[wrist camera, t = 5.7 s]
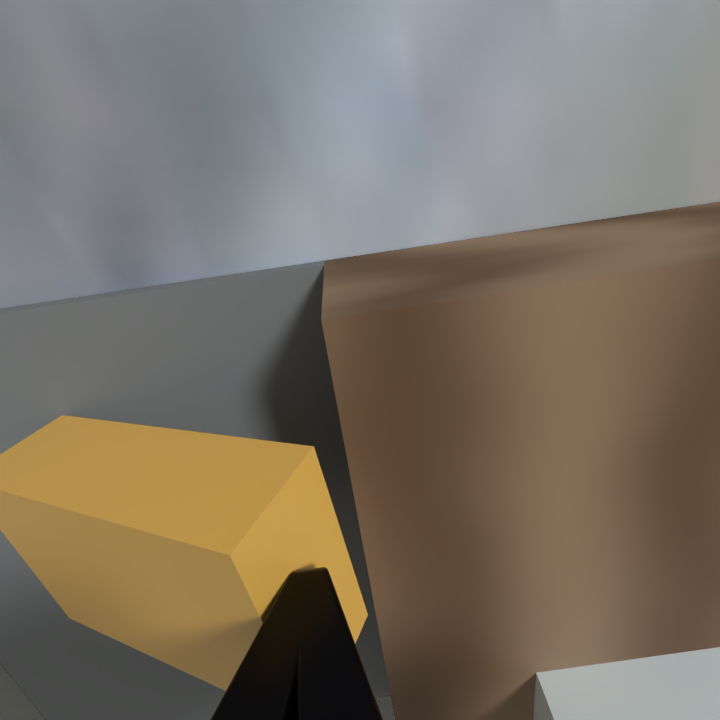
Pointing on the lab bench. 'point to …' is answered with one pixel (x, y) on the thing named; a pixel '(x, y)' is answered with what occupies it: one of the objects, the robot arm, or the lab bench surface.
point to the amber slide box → (171, 534)
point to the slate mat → (175, 411)
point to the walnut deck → (533, 451)
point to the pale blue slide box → (634, 689)
